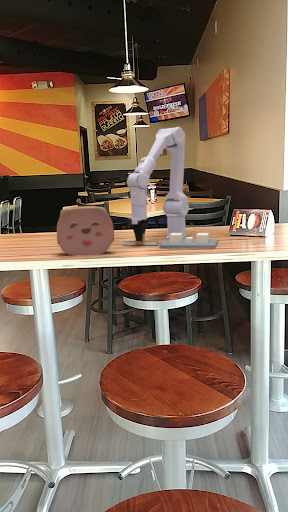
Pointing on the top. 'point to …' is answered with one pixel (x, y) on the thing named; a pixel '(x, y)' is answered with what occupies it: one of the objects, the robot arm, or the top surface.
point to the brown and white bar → (140, 242)
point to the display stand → (189, 241)
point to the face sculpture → (84, 230)
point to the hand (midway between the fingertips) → (140, 240)
